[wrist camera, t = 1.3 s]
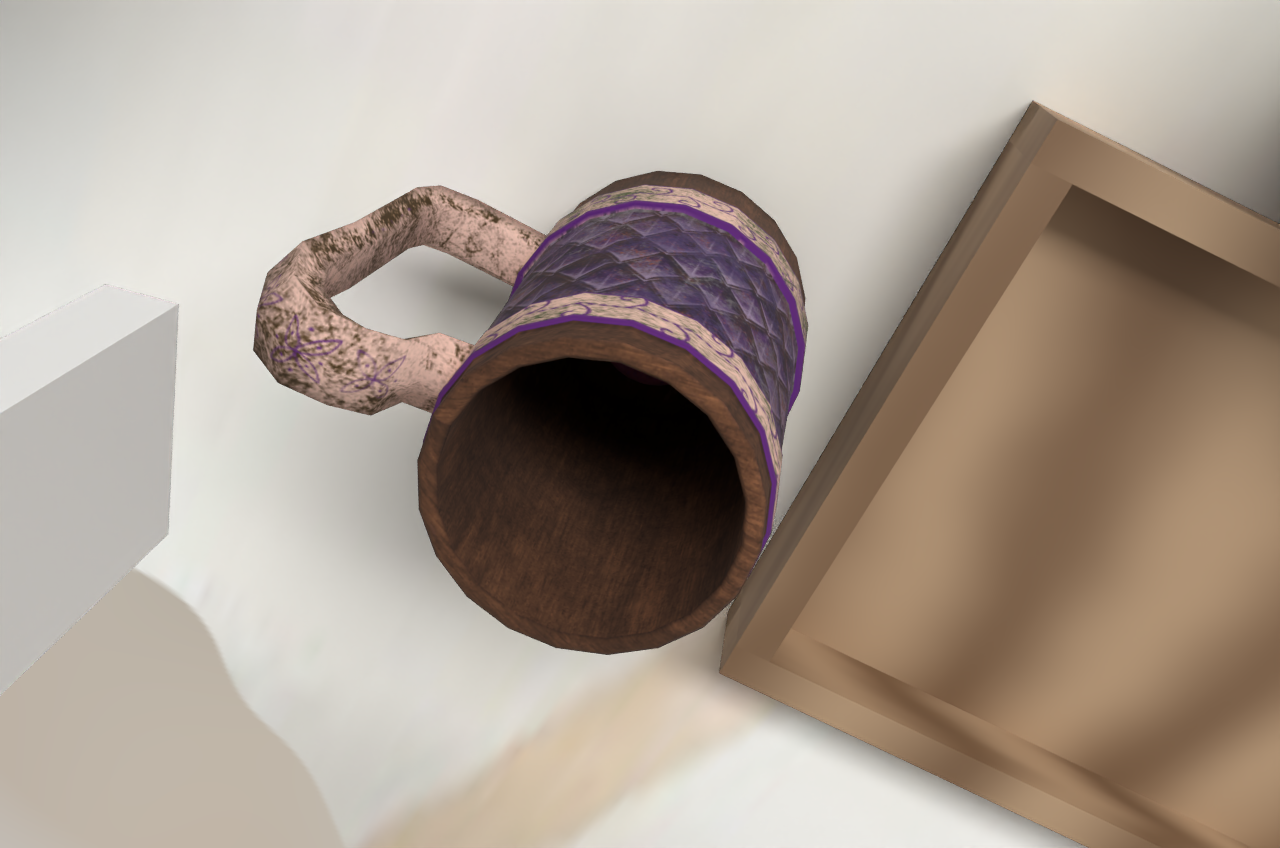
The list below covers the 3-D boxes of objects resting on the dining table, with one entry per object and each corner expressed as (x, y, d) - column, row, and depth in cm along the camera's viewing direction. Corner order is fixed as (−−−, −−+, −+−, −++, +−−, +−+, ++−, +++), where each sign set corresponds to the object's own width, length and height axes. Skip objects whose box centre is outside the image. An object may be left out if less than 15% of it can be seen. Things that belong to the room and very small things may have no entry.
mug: (866, 269, 28) (893, 479, 17) (708, 473, 31) (644, 765, 20) (522, 33, 27) (315, 95, 16) (393, 267, 30) (143, 455, 19)
